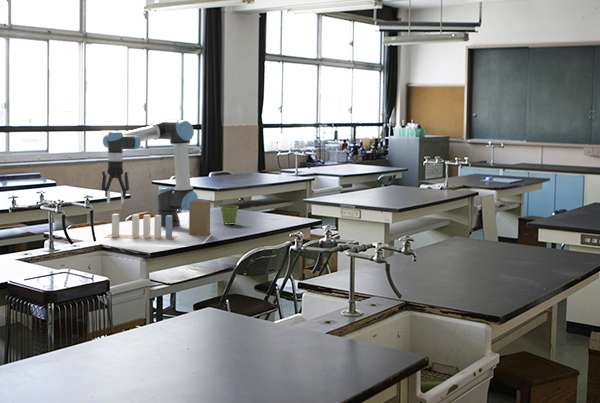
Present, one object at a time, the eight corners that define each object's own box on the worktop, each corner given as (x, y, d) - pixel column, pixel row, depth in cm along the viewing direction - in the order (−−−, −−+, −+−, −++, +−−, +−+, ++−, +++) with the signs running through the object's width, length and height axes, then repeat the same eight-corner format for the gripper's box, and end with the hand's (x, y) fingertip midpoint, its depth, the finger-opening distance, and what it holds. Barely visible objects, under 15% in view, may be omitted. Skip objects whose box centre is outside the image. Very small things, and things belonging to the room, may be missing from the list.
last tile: (167, 237, 369) (167, 215, 368) (172, 237, 369) (172, 215, 368) (165, 238, 364) (165, 216, 363) (170, 238, 364) (170, 216, 363)
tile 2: (134, 236, 369) (134, 214, 368) (139, 236, 369) (139, 214, 368) (132, 237, 365) (132, 215, 363) (137, 237, 365) (137, 215, 363)
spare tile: (116, 237, 365) (116, 214, 363) (111, 236, 365) (111, 214, 364) (119, 235, 370) (119, 213, 368) (114, 235, 370) (114, 213, 368)
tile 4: (156, 236, 369) (156, 214, 368) (161, 236, 369) (161, 215, 368) (154, 238, 364) (154, 216, 363) (159, 238, 364) (159, 216, 363)
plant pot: (220, 222, 434) (221, 205, 433) (239, 223, 434) (239, 205, 433) (218, 225, 422) (218, 207, 421) (237, 226, 422) (237, 208, 421)
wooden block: (210, 234, 387) (210, 199, 385) (206, 237, 377) (206, 201, 375) (193, 233, 388) (193, 199, 386) (188, 236, 378) (188, 201, 376)
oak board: (109, 235, 373) (109, 234, 373) (178, 238, 373) (178, 236, 373) (103, 239, 362) (103, 237, 361) (173, 241, 361) (173, 239, 361)
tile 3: (145, 236, 369) (145, 214, 368) (150, 236, 369) (150, 214, 368) (143, 237, 365) (143, 215, 363) (148, 237, 365) (148, 215, 363)
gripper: (94, 160, 359) (95, 203, 362) (131, 161, 359) (131, 204, 361) (99, 159, 367) (99, 201, 369) (135, 160, 366) (135, 203, 369)
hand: (115, 203), depth 365 cm, fingers open, 7 cm apart
